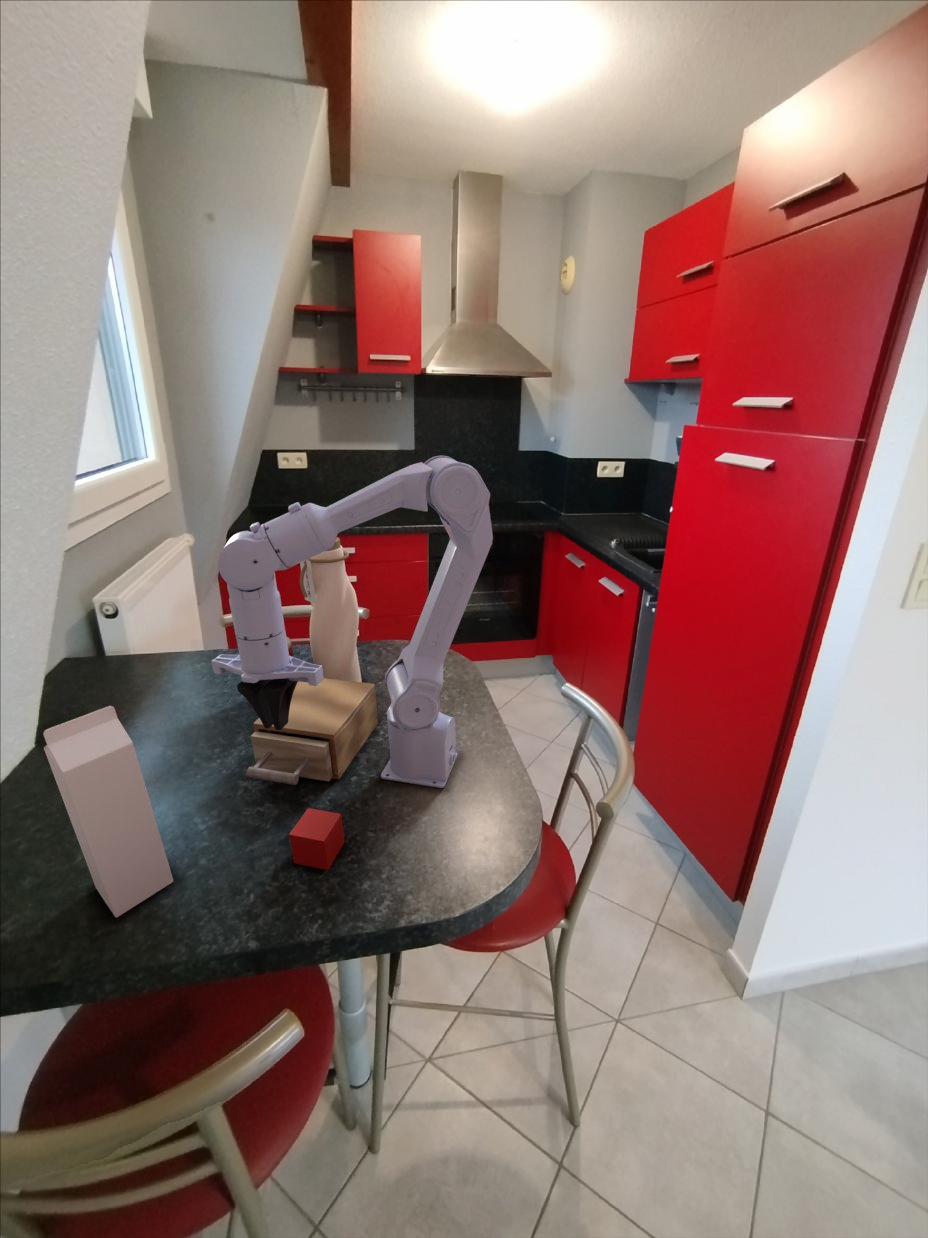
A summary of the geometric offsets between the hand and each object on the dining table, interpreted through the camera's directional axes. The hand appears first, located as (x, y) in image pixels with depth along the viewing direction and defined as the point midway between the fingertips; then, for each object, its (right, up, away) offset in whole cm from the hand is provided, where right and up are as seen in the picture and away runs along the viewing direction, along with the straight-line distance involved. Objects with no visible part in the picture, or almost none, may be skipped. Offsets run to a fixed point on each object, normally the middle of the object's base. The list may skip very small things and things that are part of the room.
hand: (276, 725), depth 70 cm
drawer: (+1, -7, +9) cm, 11 cm away
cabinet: (+3, -6, +13) cm, 15 cm away
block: (+8, -14, -7) cm, 17 cm away
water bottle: (+1, +1, +31) cm, 31 cm away
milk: (-12, -16, -11) cm, 23 cm away
